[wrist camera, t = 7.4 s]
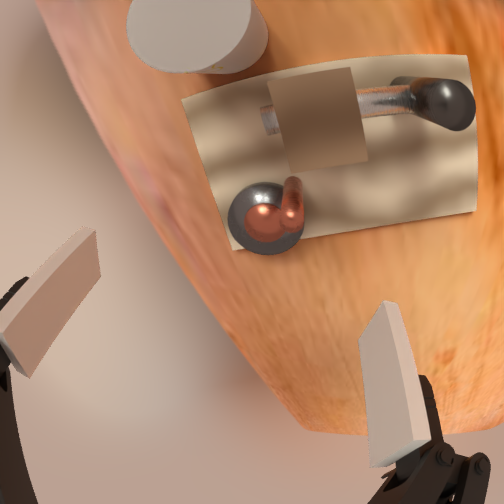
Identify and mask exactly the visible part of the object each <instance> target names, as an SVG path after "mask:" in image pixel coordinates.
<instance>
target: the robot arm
mask: <svg viewBox="0 0 504 504" xmlns="http://www.w3.org/2000/svg"><path fill="white" fill-rule="evenodd" d="M100 277H101V275H100V267H99V259H98V251H97V242H96V232H95V230H94V229H90V228H86V227H81V228H80V229H79V230H78V231H77V232H76V233H75V234H74V235H73V236H71V237H70V238H69V239H68V240H67V241H66V242H65V243H64V244H63V245H62V246H61V247H60V248H59V249H58V250H57V251H56V252H55V253H54V254H53V255H52V256H51V257H50V258H49V259H48V260H47V261H46V262H45V263H44V264H43V265H42V266H41V267H40V268H39V269H38V270H37V271H36V272H35V273H34V274H33V275H32V276H31V277H30V278H29V277H24V278H23V279H21V280H19V281H17V282H16V283H15V284H14V285H13V287H11V288H10V289H9V292H7V293H6V294H5V295H4V296H3V299H0V504H38V502H37V499H36V496H35V493H34V490H33V487H32V484H31V481H30V478H29V474H28V470H27V467H26V463H25V459H24V456H23V451H22V447H21V443H20V438H19V433H18V428H17V423H16V417H15V410H14V403H13V396H12V387H11V376H10V370H9V367H8V366H9V365H10V363H12V364H13V366H14V367H15V369H16V370H17V371H18V372H20V373H21V374H23V375H24V376H26V377H28V378H30V377H31V376H32V374H33V372H34V371H35V369H36V367H37V366H38V364H39V363H40V361H41V359H42V358H43V356H44V355H45V354H46V352H47V350H48V349H49V347H50V346H51V344H52V343H53V341H54V340H55V338H56V337H57V336H58V334H59V333H60V331H61V330H62V328H63V327H64V326H65V324H66V323H67V321H68V320H69V318H70V317H71V316H72V314H73V313H74V312H75V310H76V309H77V307H78V306H79V305H80V303H81V302H82V301H83V299H84V298H85V297H86V295H87V294H88V293H89V291H90V290H91V289H92V287H93V286H94V285H95V284H96V282H97V281H98V280H99V278H100ZM358 344H359V351H360V359H361V367H362V375H363V384H364V393H365V403H366V414H367V426H368V441H369V459H370V468H371V467H372V468H373V467H387V466H389V465H391V464H393V463H395V462H396V468H395V469H393V470H391V471H390V472H388V473H386V474H384V475H383V476H382V477H381V478H382V479H384V478H386V477H388V478H387V479H386V481H385V482H384V483H383V484H382V486H381V487H380V488H379V490H378V491H377V492H376V494H375V495H374V496H373V497H372V499H371V500H370V501H369V502H368V504H484V502H485V497H486V492H487V487H488V482H489V476H490V470H491V469H490V468H491V464H490V461H489V459H488V457H487V456H486V455H485V454H483V453H480V452H479V453H476V454H474V455H473V456H471V457H465V456H462V455H458V454H455V451H454V449H453V448H452V447H451V446H450V445H449V444H447V443H445V442H444V440H443V436H442V431H441V426H440V421H439V416H438V411H437V408H436V402H435V399H434V394H433V390H432V386H431V384H430V383H429V381H428V379H427V378H426V376H425V375H418V373H417V369H416V365H415V361H414V357H413V353H412V350H411V346H410V343H409V339H408V336H407V332H406V329H405V326H404V322H403V319H402V316H401V313H400V310H399V307H398V304H397V303H395V302H390V301H386V300H383V301H382V303H381V304H380V306H379V308H378V309H377V311H376V313H375V314H374V316H373V318H372V319H371V321H370V322H369V324H368V325H367V327H366V329H365V330H364V332H363V333H362V335H361V336H360V338H359V339H358ZM453 495H455V496H454V499H453V501H452V498H453Z"/></svg>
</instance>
